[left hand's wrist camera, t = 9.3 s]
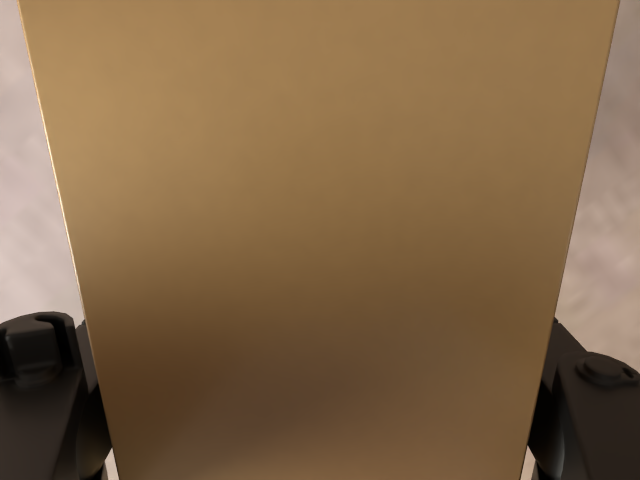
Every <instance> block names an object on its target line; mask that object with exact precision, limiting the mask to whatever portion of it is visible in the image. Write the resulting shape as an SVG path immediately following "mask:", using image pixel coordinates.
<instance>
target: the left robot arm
mask: <svg viewBox="0 0 640 480" xmlns="http://www.w3.org/2000/svg"><path fill="white" fill-rule="evenodd" d="M528 446H529V448H530V450H531V452H532V454H533V456H534V457H535V459H536V461H535V465H534V470H533V474H532V479H531V480H640V374H639V373H638V372H637V371H636V370H634V369H633V368H631V367H630V366H628V365H627V364H625V363H624V362H621V361H619V360H617V359H614V358H612V357H610V356H606V355H602V354H598V353H594V352H587V351H586V350H585V349H584V348H583V347H582V346H581V344H580V343H579V342H578V341H577V340H576V339H575V338H574V337H573V336H572V335H571V334H570V333H569V332H568V331H567V330H566V328H565V327H564V326H563V325H562V324H561V323H558V320H557V319H556V318H555V317H554V321H553V325H552V330H551V335H550V340H549V345H548V349H547V354H546V359H545V364H544V369H543V373H542V378H541V383H540V388H539V392H538V397H537V402H536V407H535V412H534V416H533V421H532V426H531V431H530V436H529V440H528ZM111 448H112V444H111V439H110V434H109V430H108V425H107V420H106V416H105V411H104V406H103V402H102V397H101V392H100V388H99V383H98V378H97V374H96V369H95V364H94V360H93V355H92V350H91V346H90V341H89V336H88V332H87V327H86V322H85V320H84V321H83V322H82V325H79V326H78V327H77V328H76V329H75V326H74V321H73V318H72V317H70V316H69V315H67V314H66V313H60V312H54V311H53V312H37V313H33V314H28V315H23V316H19V317H17V318H14V319H11V320H8V321H6V322H3V323H2V324H0V480H108V476H107V470H106V465H105V459H106V457H107V456H108V454H109V452H110V450H111Z"/></svg>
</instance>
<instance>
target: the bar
mask: <svg viewBox="0 0 640 480" xmlns="http://www.w3.org/2000/svg"><path fill="white" fill-rule="evenodd" d="M17 4H18V9H19V14H20V18H21V23H22V28H23V32H24V37H25V42H26V46H27V51H28V56H29V60H30V65H31V70H32V74H33V79H34V84H35V88H36V93H37V98H38V102H39V107H40V112H41V116H42V121H43V126H44V130H45V135H46V140H47V145H48V149H49V154H50V159H51V163H52V168H53V173H54V177H55V182H56V187H57V191H58V196H59V201H60V205H61V210H62V215H63V219H64V224H65V229H66V233H67V238H68V243H69V247H70V252H71V257H72V261H73V266H74V271H75V275H76V280H77V285H78V289H79V294H80V299H81V304H82V308H83V313H84V318H85V322H86V327H87V332H88V336H89V341H90V346H91V350H92V355H93V360H94V364H95V369H96V374H97V378H98V383H99V388H100V392H101V397H102V402H103V406H104V411H105V416H106V420H107V425H108V430H109V434H110V439H111V444H112V449H113V453H114V458H115V463H116V467H117V472H118V477H119V480H520V479H521V474H522V469H523V464H524V460H525V455H526V450H527V445H528V440H529V436H530V431H531V426H532V421H533V416H534V412H535V407H536V402H537V397H538V392H539V388H540V383H541V378H542V373H543V369H544V364H545V359H546V354H547V349H548V345H549V340H550V335H551V330H552V325H553V321H554V316H555V311H556V306H557V301H558V297H559V292H560V287H561V282H562V277H563V273H564V268H565V263H566V258H567V253H568V249H569V244H570V239H571V234H572V229H573V225H574V220H575V215H576V210H577V205H578V201H579V196H580V191H581V186H582V181H583V177H584V172H585V167H586V162H587V157H588V153H589V148H590V143H591V138H592V133H593V129H594V124H595V119H596V114H597V109H598V105H599V100H600V95H601V90H602V85H603V81H604V76H605V71H606V66H607V61H608V57H609V52H610V47H611V42H612V37H613V33H614V28H615V23H616V18H617V13H618V9H619V4H620V0H17Z"/></svg>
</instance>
